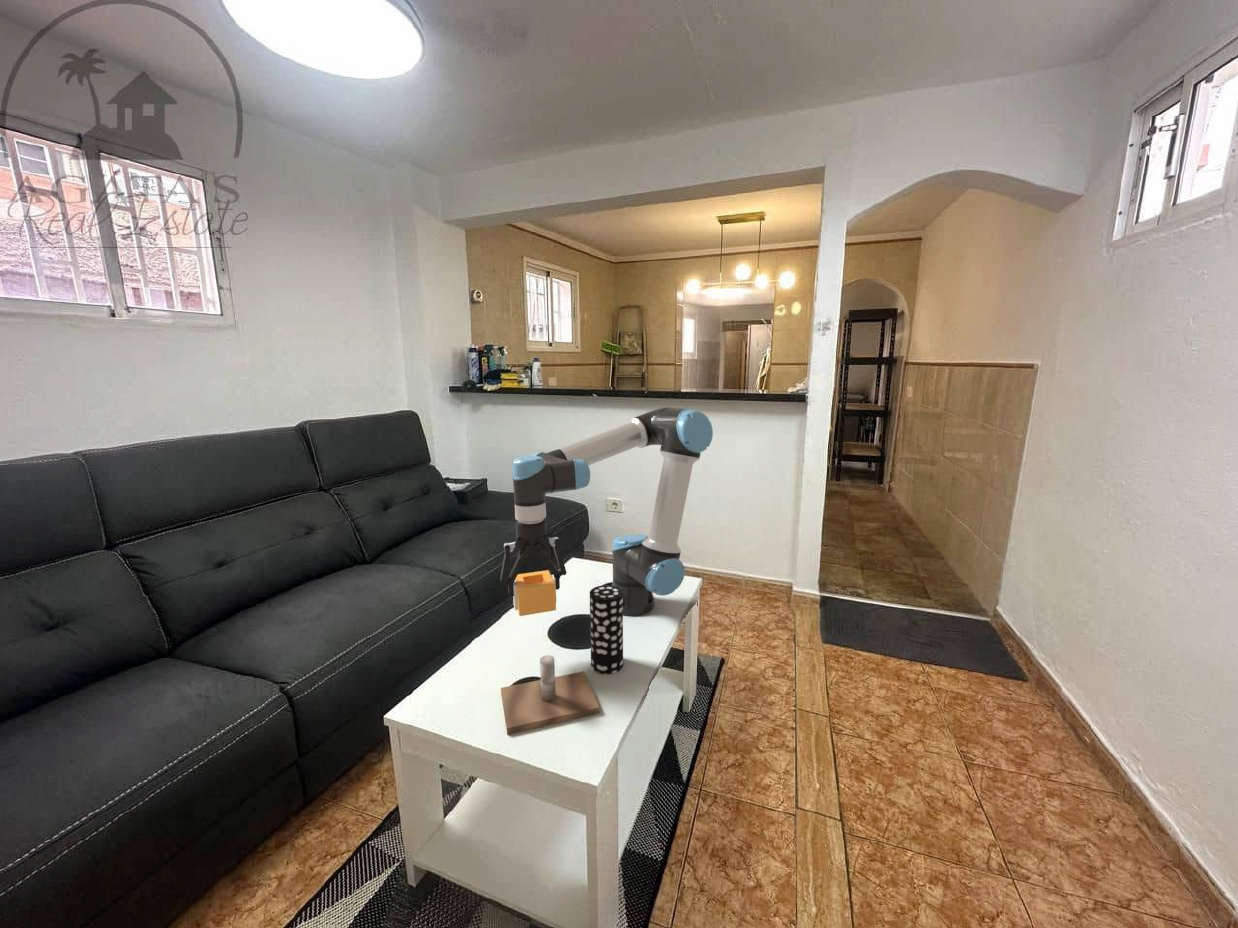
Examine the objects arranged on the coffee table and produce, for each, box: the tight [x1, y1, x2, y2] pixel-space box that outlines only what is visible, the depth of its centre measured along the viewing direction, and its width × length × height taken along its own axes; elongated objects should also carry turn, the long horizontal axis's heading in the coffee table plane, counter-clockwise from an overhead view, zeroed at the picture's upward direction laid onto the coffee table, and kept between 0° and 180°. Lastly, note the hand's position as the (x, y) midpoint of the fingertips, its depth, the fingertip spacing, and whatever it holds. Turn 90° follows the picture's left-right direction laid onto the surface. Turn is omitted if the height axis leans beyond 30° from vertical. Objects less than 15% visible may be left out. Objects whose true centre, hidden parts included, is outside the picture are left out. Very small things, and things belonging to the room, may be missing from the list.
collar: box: [515, 569, 557, 617], centre depth 124 cm, size 9×9×7 cm
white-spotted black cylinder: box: [589, 584, 624, 675], centre depth 124 cm, size 8×8×20 cm
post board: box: [500, 654, 600, 736], centre depth 110 cm, size 20×14×11 cm
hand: (535, 604), depth 124 cm, fingers closed on collar, 9 cm apart
